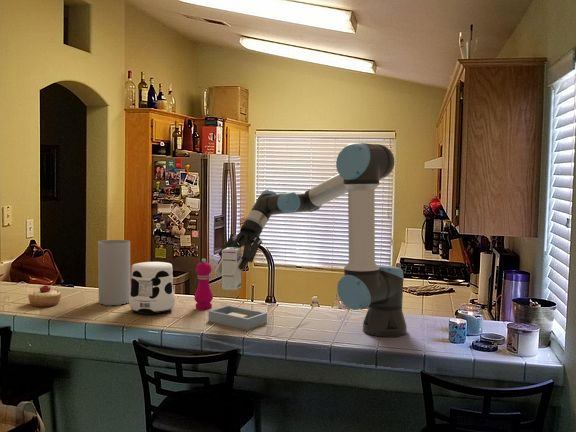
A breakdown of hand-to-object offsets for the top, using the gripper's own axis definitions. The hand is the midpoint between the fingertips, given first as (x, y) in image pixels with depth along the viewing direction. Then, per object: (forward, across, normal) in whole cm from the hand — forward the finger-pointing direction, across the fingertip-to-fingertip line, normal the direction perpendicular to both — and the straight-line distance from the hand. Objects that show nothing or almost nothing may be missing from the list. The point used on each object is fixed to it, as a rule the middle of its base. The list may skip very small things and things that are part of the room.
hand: (225, 274), depth 208 cm
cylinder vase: (+15, +57, -12) cm, 60 cm away
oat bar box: (+10, -3, -15) cm, 18 cm away
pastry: (+28, +76, +2) cm, 81 cm away
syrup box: (+2, 0, -7) cm, 7 cm away
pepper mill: (+4, +22, -22) cm, 31 cm away
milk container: (+15, +35, -12) cm, 40 cm away
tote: (+10, -3, -15) cm, 19 cm away
